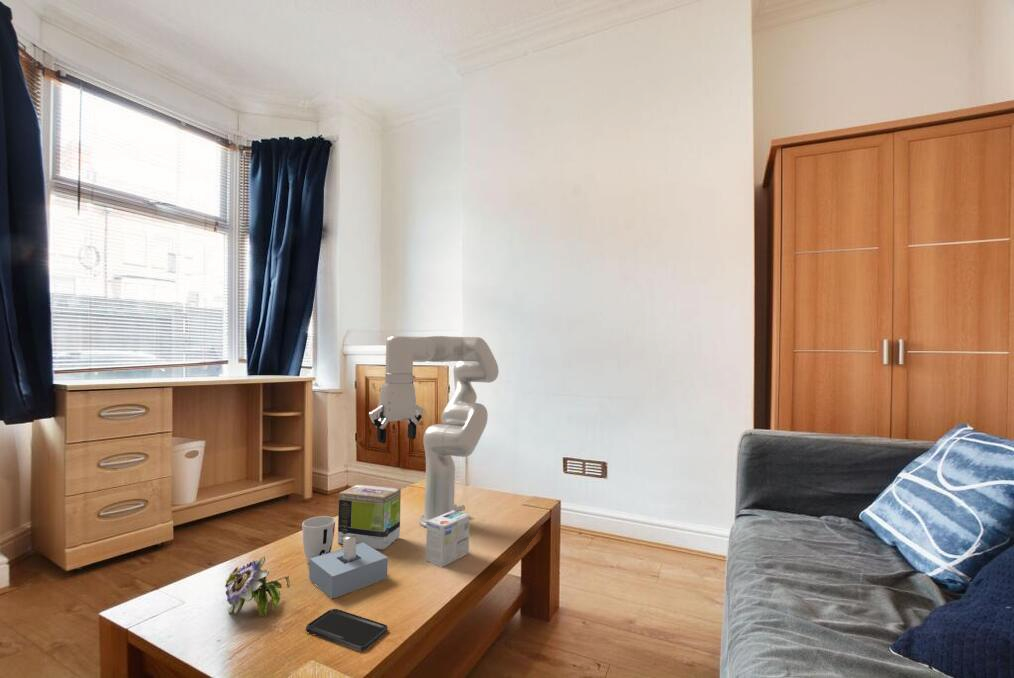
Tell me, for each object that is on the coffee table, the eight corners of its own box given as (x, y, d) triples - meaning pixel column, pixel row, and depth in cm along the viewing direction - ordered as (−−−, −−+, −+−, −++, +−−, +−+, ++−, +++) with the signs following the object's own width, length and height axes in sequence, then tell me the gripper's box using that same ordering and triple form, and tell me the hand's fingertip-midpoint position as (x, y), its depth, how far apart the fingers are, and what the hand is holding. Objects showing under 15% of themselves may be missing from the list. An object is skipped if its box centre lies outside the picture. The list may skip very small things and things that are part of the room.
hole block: (362, 561, 120) (363, 542, 120) (387, 578, 112) (387, 557, 112) (309, 579, 110) (309, 558, 110) (331, 599, 102) (332, 576, 102)
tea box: (400, 537, 136) (402, 487, 137) (382, 551, 127) (384, 497, 127) (356, 531, 141) (358, 482, 141) (336, 544, 131) (337, 491, 131)
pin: (351, 574, 113) (352, 533, 114) (357, 579, 111) (358, 537, 111) (339, 578, 111) (341, 537, 111) (345, 583, 109) (347, 540, 109)
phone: (333, 607, 97) (390, 626, 91) (332, 613, 97) (389, 631, 91) (302, 627, 90) (362, 648, 84) (302, 633, 90) (362, 655, 84)
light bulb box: (451, 547, 130) (452, 509, 131) (469, 553, 127) (470, 514, 127) (424, 560, 122) (425, 519, 122) (443, 568, 118) (444, 525, 118)
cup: (322, 568, 116) (323, 528, 116) (294, 564, 118) (295, 525, 118) (340, 554, 124) (341, 517, 124) (313, 551, 126) (314, 514, 126)
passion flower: (233, 638, 96) (210, 585, 99) (282, 605, 105) (260, 558, 107) (250, 626, 90) (225, 569, 93) (301, 592, 99) (277, 542, 101)
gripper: (416, 378, 138) (415, 435, 138) (364, 379, 126) (362, 442, 125) (431, 379, 133) (429, 438, 133) (378, 381, 121) (376, 446, 120)
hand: (396, 440), depth 129 cm, fingers open, 9 cm apart
